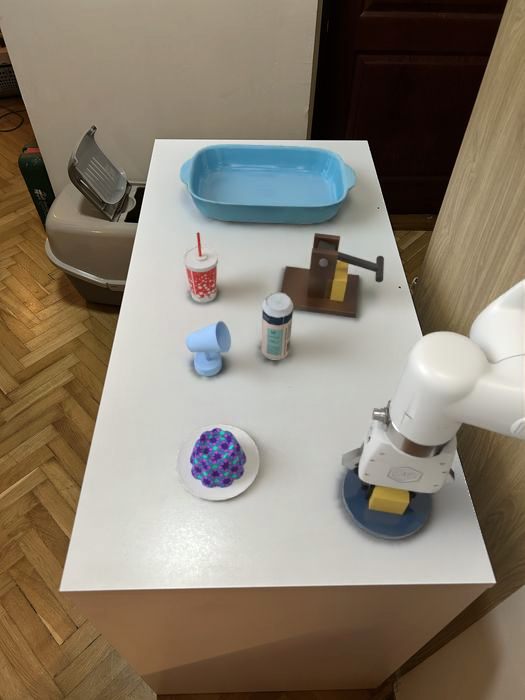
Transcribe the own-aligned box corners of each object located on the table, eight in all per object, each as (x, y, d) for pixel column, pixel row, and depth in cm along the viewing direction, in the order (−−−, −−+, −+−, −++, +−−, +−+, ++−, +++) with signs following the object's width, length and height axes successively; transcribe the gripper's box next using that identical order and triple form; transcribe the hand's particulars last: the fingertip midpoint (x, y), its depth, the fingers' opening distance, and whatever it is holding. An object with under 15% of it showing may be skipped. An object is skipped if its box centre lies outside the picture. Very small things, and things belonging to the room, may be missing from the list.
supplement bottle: (282, 336, 92) (286, 287, 82) (293, 357, 89) (298, 308, 80) (257, 344, 91) (257, 294, 81) (267, 365, 88) (269, 316, 78)
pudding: (232, 518, 72) (230, 502, 67) (159, 477, 75) (154, 460, 71) (274, 448, 78) (275, 430, 74) (206, 414, 82) (203, 395, 78)
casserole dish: (346, 173, 123) (351, 144, 118) (356, 234, 109) (362, 205, 104) (188, 169, 123) (185, 140, 118) (177, 231, 109) (173, 201, 104)
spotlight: (233, 356, 89) (193, 351, 89) (232, 315, 81) (187, 311, 82) (229, 379, 86) (187, 375, 86) (227, 340, 78) (181, 335, 78)
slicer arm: (380, 264, 94) (386, 254, 92) (380, 285, 91) (385, 276, 89) (316, 244, 93) (321, 234, 91) (313, 265, 90) (317, 255, 88)
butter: (344, 282, 99) (348, 262, 95) (343, 301, 96) (346, 281, 92) (326, 280, 99) (329, 259, 95) (323, 298, 96) (326, 278, 92)
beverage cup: (227, 290, 99) (224, 230, 88) (206, 310, 95) (201, 250, 84) (201, 277, 101) (195, 217, 90) (180, 296, 97) (171, 236, 86)
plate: (427, 464, 77) (429, 460, 76) (430, 546, 70) (432, 543, 69) (345, 451, 78) (346, 447, 77) (338, 531, 71) (340, 528, 70)
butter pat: (402, 477, 74) (409, 464, 71) (402, 514, 71) (409, 502, 68) (370, 472, 75) (375, 458, 72) (368, 509, 71) (374, 497, 68)
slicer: (358, 279, 101) (369, 230, 92) (355, 317, 95) (366, 268, 86) (285, 270, 102) (289, 220, 93) (278, 307, 96) (280, 258, 87)
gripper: (340, 441, 57) (322, 508, 71) (501, 466, 55) (449, 529, 70) (345, 384, 62) (327, 458, 76) (494, 406, 60) (446, 477, 74)
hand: (386, 491), depth 73 cm, fingers closed on butter pat, 4 cm apart
